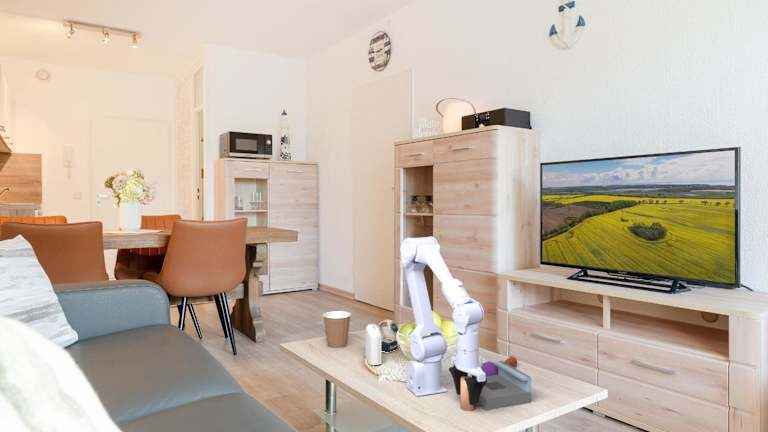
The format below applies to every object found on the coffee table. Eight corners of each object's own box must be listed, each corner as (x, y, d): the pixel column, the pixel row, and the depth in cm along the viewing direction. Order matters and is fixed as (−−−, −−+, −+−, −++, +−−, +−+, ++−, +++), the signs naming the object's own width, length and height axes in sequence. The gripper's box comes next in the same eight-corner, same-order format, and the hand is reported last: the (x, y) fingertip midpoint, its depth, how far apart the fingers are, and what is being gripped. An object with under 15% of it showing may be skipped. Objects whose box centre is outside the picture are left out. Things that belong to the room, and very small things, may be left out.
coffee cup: (339, 340, 193) (339, 309, 192) (356, 346, 185) (356, 314, 184) (317, 346, 186) (317, 313, 185) (334, 352, 178) (334, 319, 178)
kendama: (523, 356, 163) (496, 368, 148) (518, 373, 164) (491, 387, 148) (506, 349, 167) (478, 360, 151) (502, 366, 168) (474, 379, 152)
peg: (464, 411, 131) (464, 381, 130) (457, 406, 134) (458, 376, 134) (476, 409, 132) (476, 379, 132) (469, 404, 135) (469, 375, 135)
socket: (486, 410, 132) (486, 383, 131) (459, 390, 145) (459, 366, 144) (530, 402, 137) (531, 377, 136) (501, 384, 150) (501, 360, 149)
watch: (392, 354, 176) (393, 323, 176) (374, 350, 181) (374, 320, 180) (402, 350, 181) (402, 320, 180) (384, 346, 185) (384, 317, 185)
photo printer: (364, 356, 174) (364, 321, 173) (376, 356, 175) (376, 320, 174) (369, 367, 164) (369, 329, 163) (382, 366, 165) (382, 328, 164)
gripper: (496, 354, 127) (495, 407, 127) (467, 339, 140) (466, 386, 141) (471, 358, 124) (471, 411, 125) (444, 341, 138) (443, 390, 139)
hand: (467, 399), depth 133 cm, fingers open, 6 cm apart
